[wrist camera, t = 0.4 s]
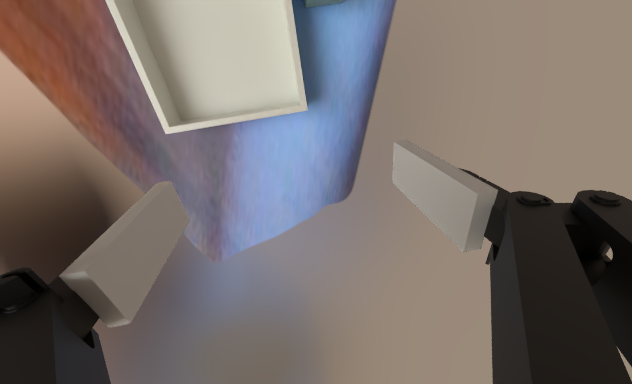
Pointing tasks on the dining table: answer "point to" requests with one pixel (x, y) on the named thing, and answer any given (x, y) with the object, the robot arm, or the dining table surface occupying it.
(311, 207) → the dining table surface
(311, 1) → the cube
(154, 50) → the tote
